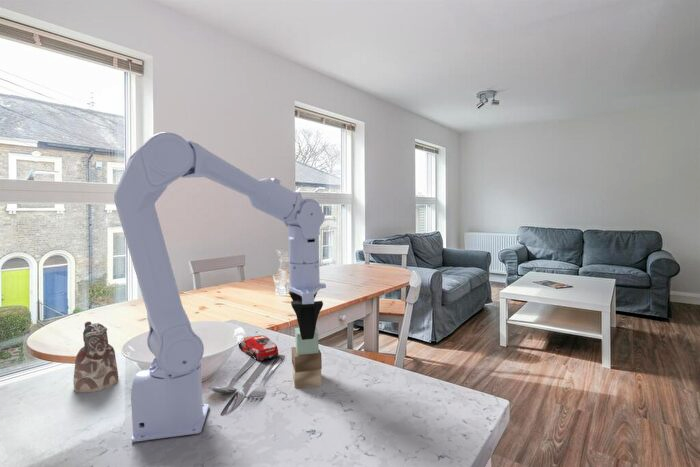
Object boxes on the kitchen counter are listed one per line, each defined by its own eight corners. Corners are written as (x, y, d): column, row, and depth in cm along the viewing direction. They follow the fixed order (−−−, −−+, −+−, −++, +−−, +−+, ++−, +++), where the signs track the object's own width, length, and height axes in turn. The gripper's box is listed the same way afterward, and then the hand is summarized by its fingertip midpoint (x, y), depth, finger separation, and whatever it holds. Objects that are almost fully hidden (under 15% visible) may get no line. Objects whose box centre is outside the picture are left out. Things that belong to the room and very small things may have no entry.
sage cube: (297, 355, 70) (296, 334, 69) (295, 347, 74) (294, 327, 73) (318, 353, 71) (318, 332, 70) (315, 345, 75) (315, 326, 74)
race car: (235, 348, 91) (235, 332, 90) (256, 343, 94) (256, 327, 94) (258, 365, 80) (258, 347, 80) (281, 358, 84) (281, 341, 83)
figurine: (79, 397, 67) (75, 331, 66) (69, 385, 72) (65, 324, 71) (123, 382, 72) (120, 322, 72) (111, 372, 77) (107, 315, 76)
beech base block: (294, 388, 69) (294, 372, 69) (293, 376, 74) (292, 361, 74) (321, 385, 70) (321, 369, 70) (318, 373, 75) (317, 359, 75)
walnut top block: (295, 372, 69) (294, 356, 69) (291, 362, 74) (291, 347, 74) (321, 368, 71) (321, 353, 70) (316, 358, 75) (316, 344, 75)
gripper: (330, 266, 64) (332, 343, 65) (320, 256, 79) (321, 319, 80) (289, 268, 63) (291, 346, 64) (286, 257, 77) (288, 322, 78)
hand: (305, 332), depth 72 cm, fingers open, 7 cm apart
